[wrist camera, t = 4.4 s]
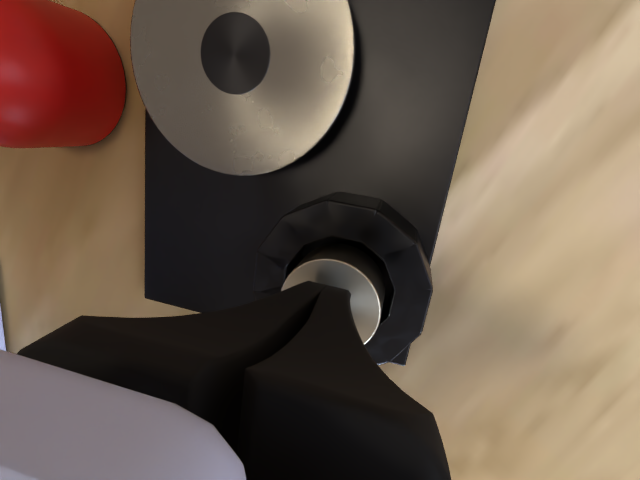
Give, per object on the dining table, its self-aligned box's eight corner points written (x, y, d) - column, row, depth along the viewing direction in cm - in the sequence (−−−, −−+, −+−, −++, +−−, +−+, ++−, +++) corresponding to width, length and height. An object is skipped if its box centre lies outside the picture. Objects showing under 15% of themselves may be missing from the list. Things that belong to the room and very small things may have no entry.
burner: (136, 155, 14) (130, 156, 14) (135, -92, 12) (128, -97, 12) (334, 193, 13) (333, 194, 12) (377, -79, 10) (376, -85, 10)
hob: (152, 293, 18) (111, 317, 16) (156, -120, 13) (99, -176, 11) (406, 359, 16) (405, 399, 14) (521, -106, 11) (551, -172, 9)
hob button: (290, 316, 14) (273, 340, 13) (301, 234, 13) (285, 248, 12) (375, 337, 14) (370, 365, 12) (393, 253, 13) (390, 271, 11)
